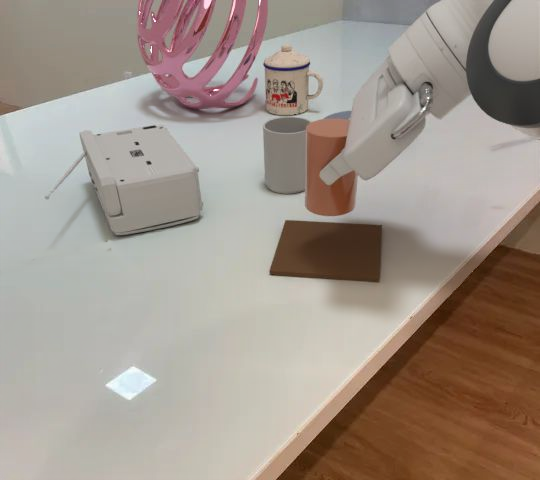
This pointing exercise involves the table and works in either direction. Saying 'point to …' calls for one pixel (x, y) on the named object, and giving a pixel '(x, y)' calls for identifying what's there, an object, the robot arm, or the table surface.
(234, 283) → the table surface
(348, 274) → the mat
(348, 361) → the table surface
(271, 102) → the teacup with lid
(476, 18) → the robot arm
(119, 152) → the radio
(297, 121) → the cup
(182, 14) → the spiral basket
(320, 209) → the orange upright cylinder
